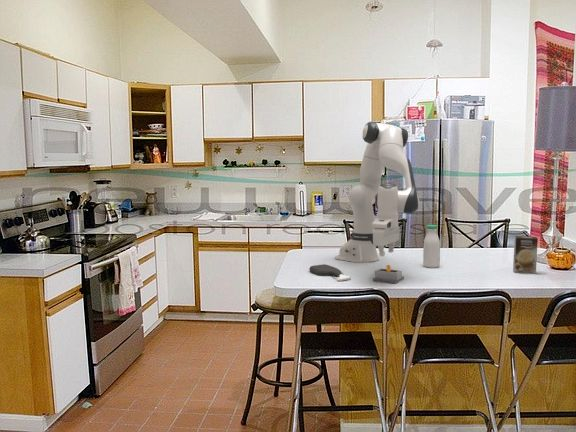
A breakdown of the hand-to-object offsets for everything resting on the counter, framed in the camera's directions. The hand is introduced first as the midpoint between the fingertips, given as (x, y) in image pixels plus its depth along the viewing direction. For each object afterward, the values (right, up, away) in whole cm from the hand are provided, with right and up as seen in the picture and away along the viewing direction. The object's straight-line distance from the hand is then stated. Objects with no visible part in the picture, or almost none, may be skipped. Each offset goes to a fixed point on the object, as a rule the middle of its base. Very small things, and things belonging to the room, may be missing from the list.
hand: (386, 254), depth 220 cm
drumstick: (-23, -11, +12) cm, 28 cm away
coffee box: (+65, -9, +13) cm, 67 cm away
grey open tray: (+1, -10, +1) cm, 10 cm away
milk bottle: (+27, -8, +28) cm, 40 cm away
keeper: (+1, -11, +1) cm, 11 cm away
